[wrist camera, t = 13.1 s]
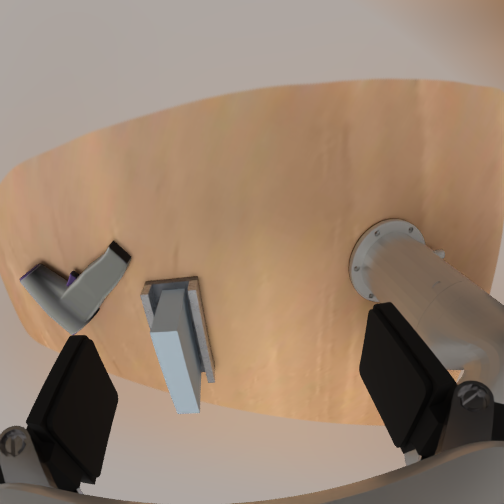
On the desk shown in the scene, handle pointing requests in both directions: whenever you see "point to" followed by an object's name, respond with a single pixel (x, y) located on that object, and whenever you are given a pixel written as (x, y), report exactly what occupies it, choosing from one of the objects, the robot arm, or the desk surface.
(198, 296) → the track
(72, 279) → the infrared thermometer
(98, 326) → the desk surface
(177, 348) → the grey slab
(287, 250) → the desk surface
